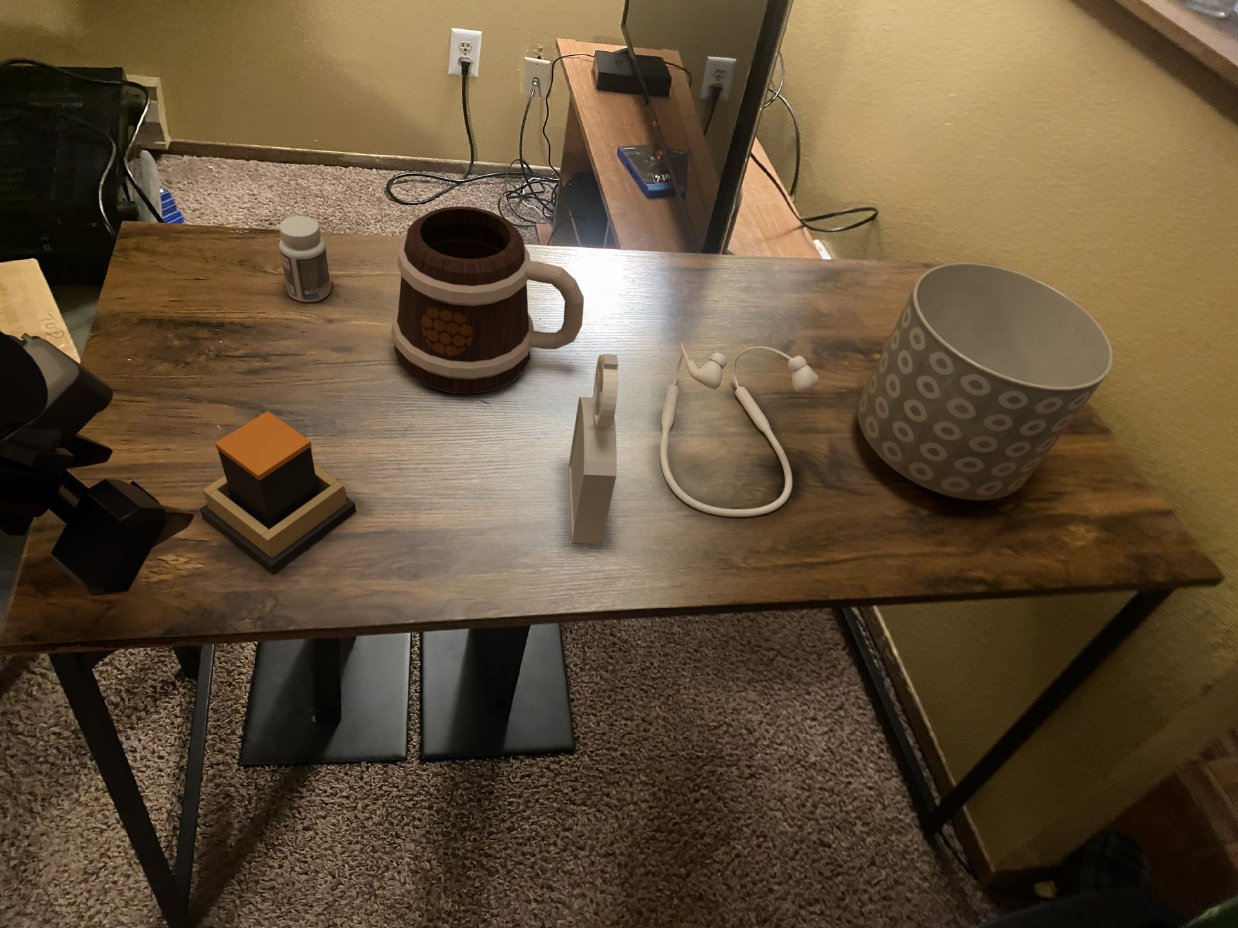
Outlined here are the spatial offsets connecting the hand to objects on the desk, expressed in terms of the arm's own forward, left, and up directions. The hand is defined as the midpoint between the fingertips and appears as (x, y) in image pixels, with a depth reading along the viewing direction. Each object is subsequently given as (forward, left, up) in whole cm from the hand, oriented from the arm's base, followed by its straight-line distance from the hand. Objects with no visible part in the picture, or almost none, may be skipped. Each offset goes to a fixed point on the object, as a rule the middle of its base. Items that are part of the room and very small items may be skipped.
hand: (148, 486), depth 61 cm
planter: (+75, +4, -10) cm, 75 cm away
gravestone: (+35, +2, -10) cm, 36 cm away
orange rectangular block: (+8, +5, -9) cm, 13 cm away
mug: (+29, +24, -10) cm, 39 cm away
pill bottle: (+11, +37, -10) cm, 40 cm away
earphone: (+51, +8, -10) cm, 52 cm away
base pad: (+8, +5, -10) cm, 14 cm away
